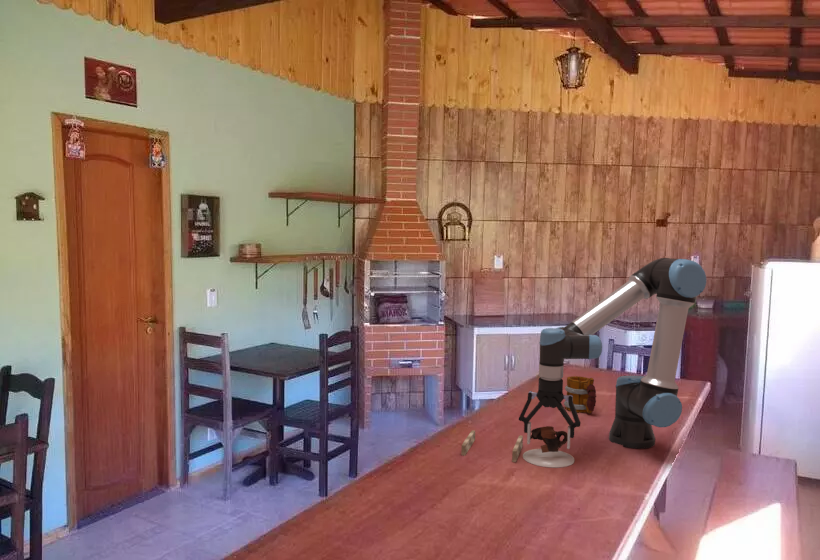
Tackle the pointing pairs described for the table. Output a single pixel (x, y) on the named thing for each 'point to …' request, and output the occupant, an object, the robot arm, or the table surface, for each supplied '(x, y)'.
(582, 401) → the mug
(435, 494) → the table surface
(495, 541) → the table surface
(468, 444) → the pair of beige bars
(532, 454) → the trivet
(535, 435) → the pottery mug
